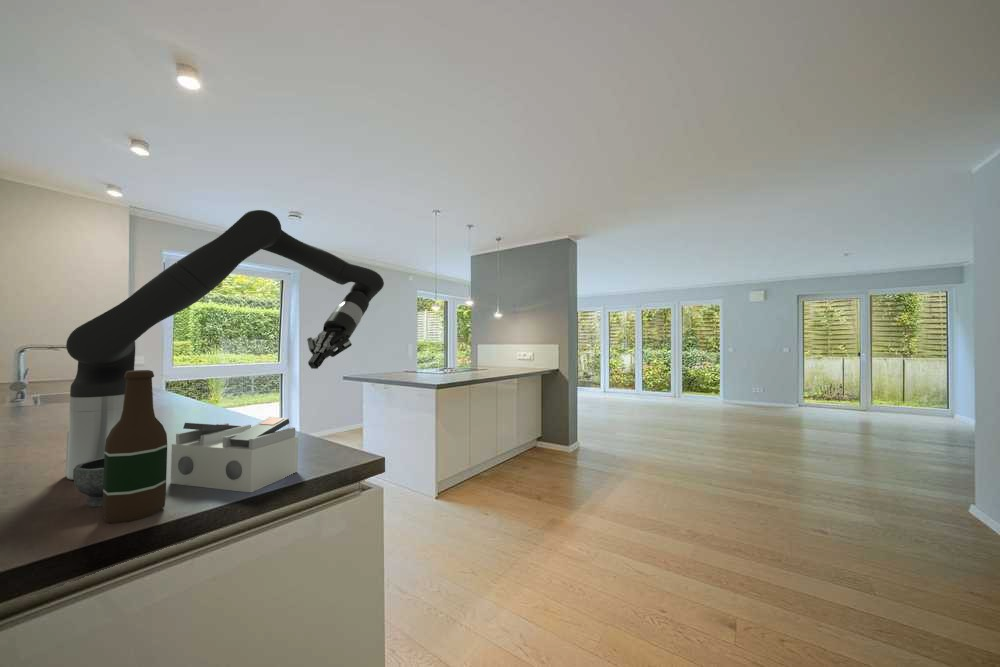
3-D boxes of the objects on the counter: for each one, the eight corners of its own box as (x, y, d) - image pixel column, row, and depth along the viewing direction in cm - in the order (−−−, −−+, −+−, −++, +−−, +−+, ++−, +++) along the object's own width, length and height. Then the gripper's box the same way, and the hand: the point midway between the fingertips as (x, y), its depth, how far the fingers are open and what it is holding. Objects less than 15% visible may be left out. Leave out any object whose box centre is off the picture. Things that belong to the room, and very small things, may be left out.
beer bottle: (125, 526, 59) (131, 372, 60) (87, 521, 60) (93, 371, 61) (177, 505, 66) (181, 369, 67) (142, 502, 68) (147, 368, 69)
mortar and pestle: (113, 510, 65) (116, 439, 65) (54, 512, 64) (57, 440, 64) (166, 486, 76) (168, 426, 76) (117, 487, 75) (119, 426, 75)
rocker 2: (231, 444, 76) (229, 438, 75) (270, 422, 85) (269, 416, 85) (251, 446, 74) (250, 439, 74) (289, 423, 84) (288, 417, 84)
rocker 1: (183, 428, 78) (185, 422, 79) (226, 431, 87) (227, 425, 88) (202, 429, 77) (204, 423, 77) (243, 432, 86) (245, 426, 87)
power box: (168, 484, 77) (170, 434, 77) (225, 465, 89) (226, 422, 89) (249, 493, 72) (250, 440, 73) (297, 472, 84) (298, 427, 85)
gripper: (317, 311, 106) (282, 356, 93) (359, 310, 103) (328, 356, 90) (329, 330, 111) (297, 375, 98) (370, 330, 108) (342, 376, 95)
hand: (312, 366), depth 94 cm, fingers closed
